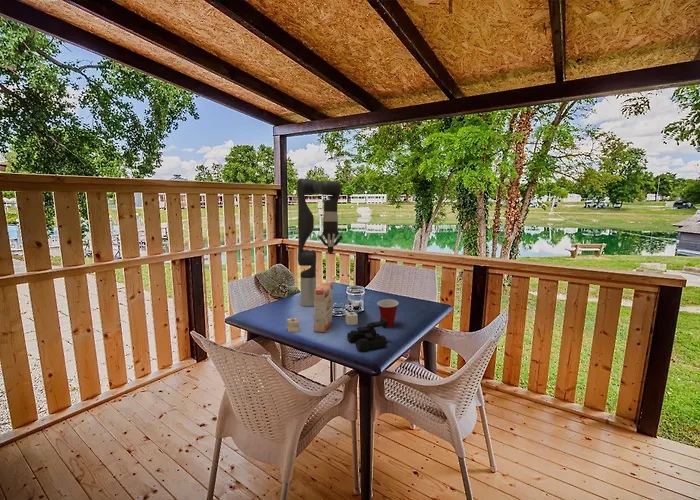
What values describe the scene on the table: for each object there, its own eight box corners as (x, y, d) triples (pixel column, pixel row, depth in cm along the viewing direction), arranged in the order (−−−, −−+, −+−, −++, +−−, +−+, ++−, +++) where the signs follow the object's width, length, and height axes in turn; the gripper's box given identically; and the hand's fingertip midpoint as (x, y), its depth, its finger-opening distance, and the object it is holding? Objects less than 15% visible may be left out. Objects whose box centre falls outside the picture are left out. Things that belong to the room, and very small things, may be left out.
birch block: (287, 328, 159) (287, 318, 158) (297, 327, 160) (297, 317, 159) (288, 332, 154) (288, 322, 153) (299, 331, 155) (298, 321, 155)
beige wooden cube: (345, 321, 169) (345, 312, 168) (354, 321, 170) (354, 311, 169) (348, 325, 164) (348, 315, 163) (357, 324, 165) (357, 314, 165)
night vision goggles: (346, 340, 146) (346, 319, 145) (377, 334, 153) (378, 314, 151) (360, 353, 134) (360, 330, 132) (393, 347, 140) (393, 324, 139)
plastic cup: (372, 322, 168) (373, 300, 166) (391, 320, 172) (391, 298, 170) (383, 330, 158) (383, 306, 156) (402, 327, 162) (402, 304, 160)
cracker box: (325, 333, 154) (325, 290, 151) (313, 331, 155) (313, 289, 152) (332, 322, 167) (333, 283, 164) (321, 321, 168) (321, 282, 165)
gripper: (341, 220, 172) (341, 252, 174) (316, 220, 168) (316, 253, 171) (344, 220, 165) (344, 254, 167) (319, 220, 161) (319, 255, 164)
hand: (330, 253), depth 169 cm, fingers closed
